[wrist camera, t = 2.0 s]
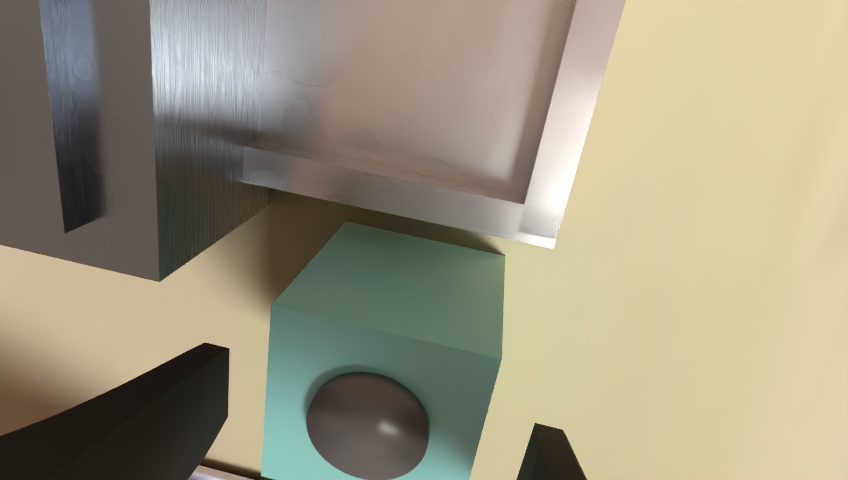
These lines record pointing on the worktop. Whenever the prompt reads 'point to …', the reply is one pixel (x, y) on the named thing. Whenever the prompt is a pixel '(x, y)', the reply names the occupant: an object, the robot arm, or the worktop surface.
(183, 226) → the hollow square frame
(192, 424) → the robot arm
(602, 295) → the worktop surface
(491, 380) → the teal block with knob
